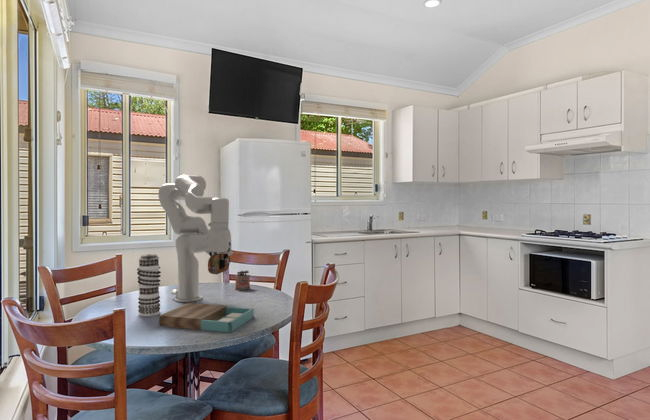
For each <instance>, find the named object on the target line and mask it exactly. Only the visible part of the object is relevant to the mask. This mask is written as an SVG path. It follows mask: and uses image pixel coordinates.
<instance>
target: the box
mask: <svg viewBox="0 0 650 420" xmlns="http://www.w3.org/2000/svg"><path fill="white" fill-rule="evenodd" d="M231 313H242V315H240V316H238V317H237V318H235V319H233V320H232V321H230V322H225V321H218V320H220V319H222V318H226V316H227V315H229V314H231ZM254 314H255V312H254V308H246V307H234V306H233V307H232V306H227V307H226V315H225V316H223V317H222V318H220V319H218V320H216V321H213V320H201V330H200V331H211V332H223V333H232V332H234V331H235V330H236V329H238V328H239V327H241V326H243V325H244V324H246V323H247V322H248V321H250V320H252V319H254V316H255V315H254Z"/></svg>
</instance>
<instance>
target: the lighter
mask: <svg viewBox="0 0 650 420" xmlns="http://www.w3.org/2000/svg"><path fill="white" fill-rule="evenodd" d="M249 273H250V271H249V270H240V271H237V275H234V278H235V288H234V290H235V291H246V290H245V289H247V290H251V287H250V285H251V284H250V283H251V282H250V281H251V279H250V278H251V274H249Z"/></svg>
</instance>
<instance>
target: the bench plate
mask: <svg viewBox="0 0 650 420" xmlns="http://www.w3.org/2000/svg"><path fill="white" fill-rule="evenodd" d="M226 307H228V305H222V304H210V303H209V304H208V303H198V302H197V303H196V302H195V303H194V302H186V303H185V304H183V305H181V306H178V307H175V308H173V309H170V310H168V311H165V312H164V313H161V314H158V327H164V328H165V327H168V328H178V329H179V328H180V329H188V330H189V329H190V330H199V331H202V330H201V320H213V321H216V320H218V319H220V318H222V317H223V316H225V315H226Z"/></svg>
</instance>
